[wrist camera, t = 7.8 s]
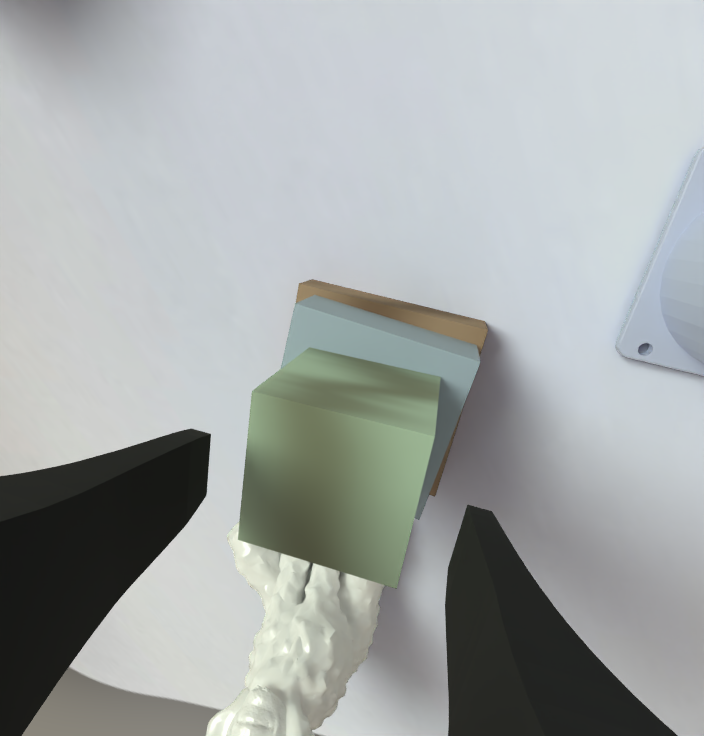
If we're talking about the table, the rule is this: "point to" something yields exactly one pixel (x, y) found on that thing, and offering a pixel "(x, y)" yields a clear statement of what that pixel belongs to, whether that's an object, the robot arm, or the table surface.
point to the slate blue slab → (390, 358)
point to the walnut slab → (406, 313)
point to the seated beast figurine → (298, 643)
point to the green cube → (338, 462)
